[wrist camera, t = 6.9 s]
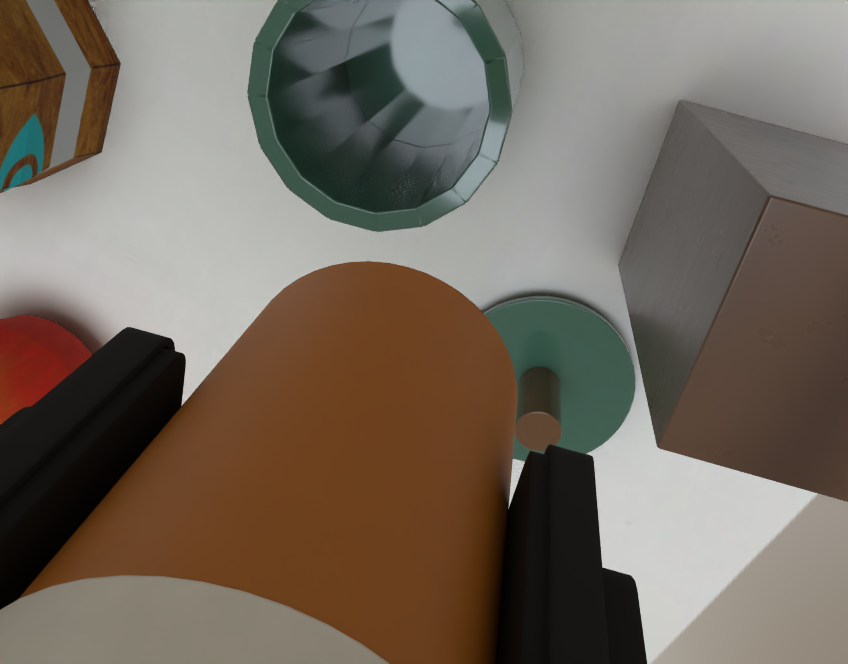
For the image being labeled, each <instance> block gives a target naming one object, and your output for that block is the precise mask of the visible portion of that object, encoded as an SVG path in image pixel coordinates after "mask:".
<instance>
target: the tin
mask: <svg viewBox="0 0 848 664" xmlns="http://www.w3.org/2000/svg"><path fill="white" fill-rule="evenodd" d="M255 41H256V42H254V46H253V53H252V61H251V69H250V77H249V84H248V92H247V93H248V94H249V95H248V99H249V103H250V108H251V112H252V116H253V120H254V124H255V128H256V133H257V137H258V141H259V144H260V145H261V146H260V147H261V149H262V150H263V152H264V153H265V155H266V156H267V158H268V159H269V161H270V162H271V164H272V165H273V167H274V168H275V170H276V171H277V173H278V174H279V176H280V178H281V179H282V181H283V182H284V184H285V185H286V187H287V188H289V190H290V191H292V192H293V193H294V194H296V195H297V196H298V197H300V198H301V199H302V200H304V201H305V202H306V203H308V204H309V205H311V206H312V207H313V208H315V209H316V210H317V211H319V212H320V213H321V214H323V215H324V216H325V217H327V218H329V219H331V220H334V221H338V222H342V223H345V224H349V225H352V226H356V227H360V228H363V229H367V230H370V231H376V232H381V231H390V230H399V229H408V228H416V227H423V226H426V225H428V224H430V223H431V222H433V221H435V220H437V219H439V218H440V217H442V216H444V215H446V214H448V213H449V212H451V211H453V210H455V209H457V208H458V207H460V206H462V205H464V204H465V203H466V202H468V201H469V199H470V198H471V197H472V195H473V194H474V193H475V192H476V190H477V189H478V188H479V187H480V185H481V184H482V183H483V181H484V180H485V179H486V178H487V176H488V175H489V174H490V173H491V171H492V170H493V169H494V167H495V166H496V165H497V162H498V161H499V158H500V154H501V151H502V147H503V144H504V141H505V137H506V134H507V130H508V127H509V123H510V120H511V116H512V113H513V109H514V106H515V102H516V99H517V95H518V92H519V88H520V84H521V81H522V77H523V74H524V64H523V50H522V44H521V35H520V31H519V27H518V25H517V23H516V21H515V19H514V17H513V15H512V12H511V10H510V9H509V7H508V6H507V4H506V2H505V1H504V0H278V1H277V2H276V4H275V6H274V8H273V9H272V11H271V13H270V15H269V16H268V18H267V20H266V22H265V23H264V25H263V27H262V28H261V30H260V32H259V34H258V35H257V37H256V40H255Z"/></svg>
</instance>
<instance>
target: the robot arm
mask: <svg viewBox="0 0 848 664" xmlns="http://www.w3.org/2000/svg"><path fill="white" fill-rule="evenodd" d="M185 366H186V359H185V355H184V354H183V353H179V352H176V351H175V346H174V342H173V340H172V339H171V338H167V337H164V336H160V335H157V334H153V333H149V332H146V331H142V330H139V329H135V328H131V327H127V328H125V329H123V330H122V331H121V332H119V333H118V334H117V335H116V336H115V337H113V338H112V339H111V340H110V341H109V342H108V343H106V344H105V345H104V346H103V347H102V348H100V349H99V350H98V351H97V352H96V353H94V354H93V355H92V356H91V357H90V358H89V359H87V360H86V361H85V362H84V363H83V364H81V365H80V366H79V367H78V368H77V369H75V370H74V371H73V372H72V373H71V374H69V375H68V376H67V377H66V378H65V379H64V380H62V381H61V382H60V383H59V384H58V385H56V386H55V387H54V388H53V389H52V390H50V391H49V392H48V393H47V394H46V395H45V396H43V397H42V398H41V399H40V400H39V401H37V402H36V403H35V404H34V405H33V406H29V407H24V408H22V409H21V410H19V411H17V412H16V413H14V414H13V415H12V416H10V417H9V418H8V419H7V420H6V421H4V422H3V423H2V424H1V425H0V610H1V609H3V608H4V607H6V606H8V605H10V604H11V603H13V602H15V601H16V600H18V599H19V597H20V596H21V595H22V594H23V593H24V591H25V590H26V589H27V588H28V587H29V586H30V584H31V583H32V582H33V581H34V580H35V578H36V577H37V576H38V575H39V574H40V573H41V571H42V570H43V569H44V568H45V567H46V566H47V564H48V563H49V562H50V561H51V560H52V558H53V557H54V556H55V555H56V554H57V553H58V551H59V550H60V549H61V548H62V547H63V545H64V544H65V543H66V542H67V541H68V540H69V538H70V537H71V536H72V535H73V534H74V533H75V531H76V530H77V529H78V528H79V527H80V525H81V524H82V523H83V522H84V521H85V520H86V518H87V517H88V516H89V515H90V514H91V512H92V511H93V510H94V509H95V508H96V507H97V505H98V504H99V503H100V502H101V501H102V500H103V498H104V497H105V496H106V495H107V494H108V492H109V491H110V490H111V489H112V488H113V487H114V485H115V484H116V483H117V482H118V481H119V479H120V478H121V477H122V476H123V475H124V474H125V472H126V471H127V470H128V469H129V468H130V467H131V465H132V464H133V463H134V462H135V461H136V459H137V458H138V457H139V456H140V455H141V454H142V452H143V451H144V450H145V449H146V448H147V446H148V445H149V444H150V443H151V442H152V441H153V439H154V438H155V437H156V436H157V435H158V434H159V432H160V431H161V430H162V429H163V428H164V426H165V425H166V424H167V423H168V422H169V421H170V419H171V418H172V417H173V416H174V415H175V413H176V412H177V411H178V410H179V409H180V408H181V404H182V394H183V385H184V375H185ZM495 664H647V660H646V652H645V644H644V637H643V629H642V622H641V614H640V607H639V599H638V592H637V587H636V583H635V580H634V579H633V578H632V576H630V575H627V574H623V573H620V572H616V571H613V570H609V569H606V568H602V559H601V547H600V534H599V521H598V509H597V496H596V484H595V471H594V460H593V457H592V456H591V455H587V454H583V453H580V452H576V451H573V450H569V449H565V448H562V447H558V446H555V445H551V444H549V445H548V447H547V448H546V450H545V452H544V454H541V453H537V452H534V451H530V452H529V454H528V456H527V458H526V461H525V464H524V467H523V469H522V472H521V475H520V478H519V481H518V484H517V487H516V489H515V492H514V495H513V498H512V501H511V504H510V507H509V509H508V518H507V530H506V542H505V554H504V566H503V578H502V590H501V601H500V613H499V625H498V637H497V649H496V661H495Z"/></svg>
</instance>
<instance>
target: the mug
mask: <svg viewBox="0 0 848 664" xmlns="http://www.w3.org/2000/svg"><path fill="white" fill-rule="evenodd" d="M119 68H120V62H119V60H118V58H117V56H116V54H115V52H114V50H113V48H112V46H111V45H110V43H109V41H108V39H107V37H106V35H105V33H104V31H103V29H102V27H101V25H100V23H99V22H98V20H97V18H96V16H95V14H94V12H93V10H92V8H91V6H90V4H89V2H88V1H87V0H0V193H2V192H4V191H6V190H9V189H11V188H13V187H18V186H23V185H28V184H32V183H34V182H36V181H38V180H41V179H43V178H45V177H47V176H50V175H52V174H54V173H56V172H58V171H61V170H63V169H65V168H67V167H70V166H72V165H74V164H76V163H79V162H81V161H83V160H85V159H88V158H90V157H92V156H94V155H96V154H99V153H101V152H102V147H103V142H104V138H105V133H106V128H107V124H108V119H109V114H110V110H111V105H112V100H113V96H114V91H115V86H116V82H117V77H118V72H119Z"/></svg>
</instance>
